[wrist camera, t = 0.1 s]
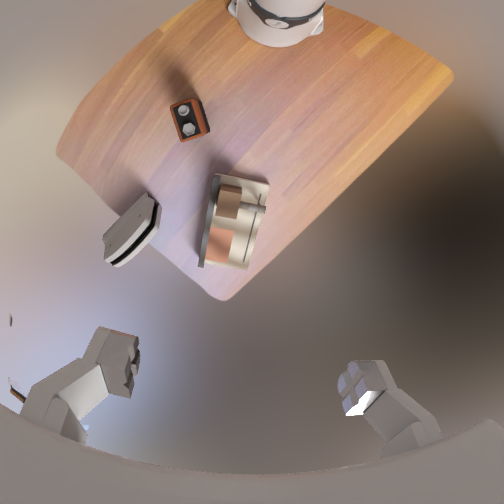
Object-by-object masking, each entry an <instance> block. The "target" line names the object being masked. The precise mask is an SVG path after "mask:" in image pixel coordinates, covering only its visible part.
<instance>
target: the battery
mask: <svg viewBox="0 0 504 504" xmlns="http://www.w3.org/2000/svg"><path fill="white" fill-rule="evenodd" d="M170 111H171V114H172V117H173V120H174V123H175V126H176V129H177V132H178V135H179V138H180V141H181V142H185V141H188V140H191V139H194V138H197V137H200V136H203V135H205V134H207V133H208V132H210V128H209V125H208V121H207V118H206V115H205V112H204V109H203V105H202V102H201V101H199V100H197V99H194V98H190V99H187V100H185V101H182V102H179V103H176V104H174V105H171V106H170Z"/></svg>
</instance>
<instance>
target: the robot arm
mask: <svg viewBox="0 0 504 504" xmlns="http://www.w3.org/2000/svg"><path fill="white" fill-rule="evenodd" d="M325 1H326V0H232V1H231V3H230V4H229V6H228V12H229V13H230V14H231V15H232V16H234V17H235V18H236V19H237V20H238V22H239V24H240V26H241V28H242V29H243V31H244V32H245V33H246V34H247V35H248V36H249V37H250V38H251V39H253V40H254V41H256V42H258V43H261V44H263V45H267V46H271V47H287V46H291V45H294V44H297V43H299V42H300V41H302V40H303V39H305V38H306V37H308V36H313V35H318V34H320V33H321V32H322V31H323V7H324V4H325ZM236 3H237V5H235V4H236ZM138 345H139V338H138V337H137V336H134V335H130V334H126V333H122V332H119V331H115V330H111V329H108V328H104V327H101V326H99V327H98V328H97V329H96V331H95V333H94V335H93V337H92V339H91V341H90V343H89V345H88V348H87V349H86V352H85V354H84V356H83V358H82V359H80V358H78V359H76V360H74V361H73V362H71V363H69V364H68V365H66V366H64V367H63V368H61V369H59V370H58V371H56V372H55V373H53V374H51V375H49V376H48V377H46V378H44V379H43V380H41V381H40V382H38V383H36V384H35V385H33V386H32V388H31V390H30V392H29V394H28V396H27V398H26V401H25V403H24V405H23V407H22V410H21V412H20V414H17V413H15V412H14V411H12V410H10V409H9V408H7V407H5V406H3V405H2V404H0V504H504V429H503V428H502V427H501V426H500V425H498V424H497V423H496V422H495V421H493V420H491V419H488V418H487V419H484V420H482V421H480V422H478V423H476V424H474V425H472V426H470V427H468V428H466V429H464V430H461V431H459V432H457V433H455V434H453V435H450V436H448V437H446V438H443V436H442V434H441V432H440V429H439V427H438V424H437V422H436V420H435V418H434V416H433V415H432V414H430V413H429V412H428V411H427V410H425V409H424V408H423V407H422V406H421V405H419V404H418V403H417V402H415V401H414V400H413V399H412V398H411V397H410V396H408V395H407V394H406V393H405V392H403V391H402V390H401V389H397V387H396V385H395V382H394V380H393V378H392V376H391V374H390V372H389V370H388V367H387V365H386V363H385V362H384V361H383V360H373V361H372V360H366V361H352V362H350V363H349V364H348V366H347V368H348V370H347V371H345V372H343V373H342V374H341V376H340V377H339V380H338V391H339V394H340V395H341V396H342V397H343V398H344V399H343V402H342V405H343V408H344V411H345V415H356V414H362V415H363V416H364V418H365V419H366V420H367V421H368V422H369V423H370V424H371V425H372V427H373V428H374V429H375V430H376V431H377V432H378V433H379V434H380V436H381V437H382V438H383V439H384V440H385V441H386V442H387V443H386V444H385V445H384V446H382V447H381V448H380V449H379V454H380V457H381V459H379V460H375V461H371V462H367V463H362V464H357V465H352V466H348V467H341V468H335V469H328V470H321V471H313V472H303V473H291V474H269V475H268V474H267V475H245V474H222V473H210V472H199V471H191V470H184V469H177V468H170V467H165V466H160V465H155V464H150V463H146V462H141V461H137V460H133V459H129V458H125V457H122V456H118V455H114V454H111V453H108V452H105V451H102V450H98V449H96V448H93V447H90V446H87V445H85V444H86V440H87V436H88V434H87V433H86V431H85V429H84V428H83V427H82V425H81V424H80V422H79V420H80V419H81V418H83V417H84V416H85V415H86V414H87V413H88V412H89V411H91V410H92V409H93V408H94V407H95V406H96V405H97V404H99V403H100V402H101V401H102V400H103V399H104V398H105V397H107V396H108V395H109V393H111V394H114V395H118V396H123V397H126V398H131V395H132V391H133V388H134V378H133V377H134V376H136V375H137V373H138V369H139V364H140V351H139V350H138Z"/></svg>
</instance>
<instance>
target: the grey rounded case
mask: <svg viewBox="0 0 504 504" xmlns="http://www.w3.org/2000/svg"><path fill="white" fill-rule="evenodd" d="M154 201H155V200H153V199H151V198H150V197H148V193H147V192H145V193H144V194H143V195H142V196H141V197H140V198H139V199H138V200H137V201H136V202H135V203H134V204H133V205H132V206H131V207H130V208H129V209H128V210H127V211H126V212H125V213H124V214H123V215H122V216H121V217H120V218H119V219H118V220H117V221H116V222H115V223H114V224H113V225H112V226H111V227H110V229H109V230H108V231H107V232H106V233H105V234H104V235H103V242H104V244H105V252H104V260H105V261H106V262H107V263H111V264H112V266H114V267H120V266H122V265H123V264H125V263H126V262H128V261H129V260H130V259H132V258H133V257H134V256H135V255H136V254H137V253H138V252H139V251H140V250H141V249H142V248H143V247H144V246H145V245H146V244H147V243H148V242H149V241H150V240H151V238H152V237H153V236H154V235H155V234H156V232H157V231H158V229H159V225H160V218H161V212H162V207H161V206H160V204H158V205H157V204H156V205H155V203H154Z"/></svg>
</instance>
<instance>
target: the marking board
mask: <svg viewBox="0 0 504 504" xmlns="http://www.w3.org/2000/svg"><path fill="white" fill-rule="evenodd" d="M222 183H223V184H228V185H233V186H238V187H242V197H241V201H243V202H248V203H253V204H258V203H260V205H262V206H264V205H265V201H266V198H267V194H268V190H269V186H270V185H269V184H267V183H263V182H258V181H254V180H249V179H244V178H239V177H235V176H229V175H224V174H219V173H215V175H214V178H213V183H212V188H211V193H210V198H209V204H208V209H207V215H206V220H205V226H204V232H203V238H202V244H201V250H200V256H199V263H198V267H202V268H203V267H204V263H207V264H213V265H218V266H224V267H230V268H235V269H241V270H247V269H248V266H249V262H250V258H251V254H252V251H253V247H254V243H255V239H256V235H257V232H258V228H259V224H260V220H261V217H262V213H260V212H255V211H250V210H245V209H240V208H239V210H238V214H237V218H236V219H231V218H226V217H220V216H215V213H216V208H217V203H218V198H219V193H220V188H221V184H222Z"/></svg>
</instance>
